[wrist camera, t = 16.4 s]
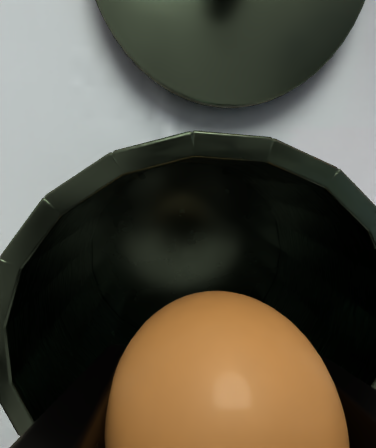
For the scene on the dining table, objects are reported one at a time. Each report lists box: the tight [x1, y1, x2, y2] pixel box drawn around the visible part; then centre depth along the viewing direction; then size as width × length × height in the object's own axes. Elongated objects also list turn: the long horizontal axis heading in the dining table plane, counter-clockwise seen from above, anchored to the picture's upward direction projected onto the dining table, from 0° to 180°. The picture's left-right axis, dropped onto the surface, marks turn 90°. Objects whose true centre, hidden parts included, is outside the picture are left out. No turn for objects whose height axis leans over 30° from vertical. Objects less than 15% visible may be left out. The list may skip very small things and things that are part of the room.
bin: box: [0, 131, 376, 436], centre depth 11 cm, size 12×12×8 cm
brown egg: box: [104, 291, 349, 448], centre depth 6 cm, size 5×5×5 cm
